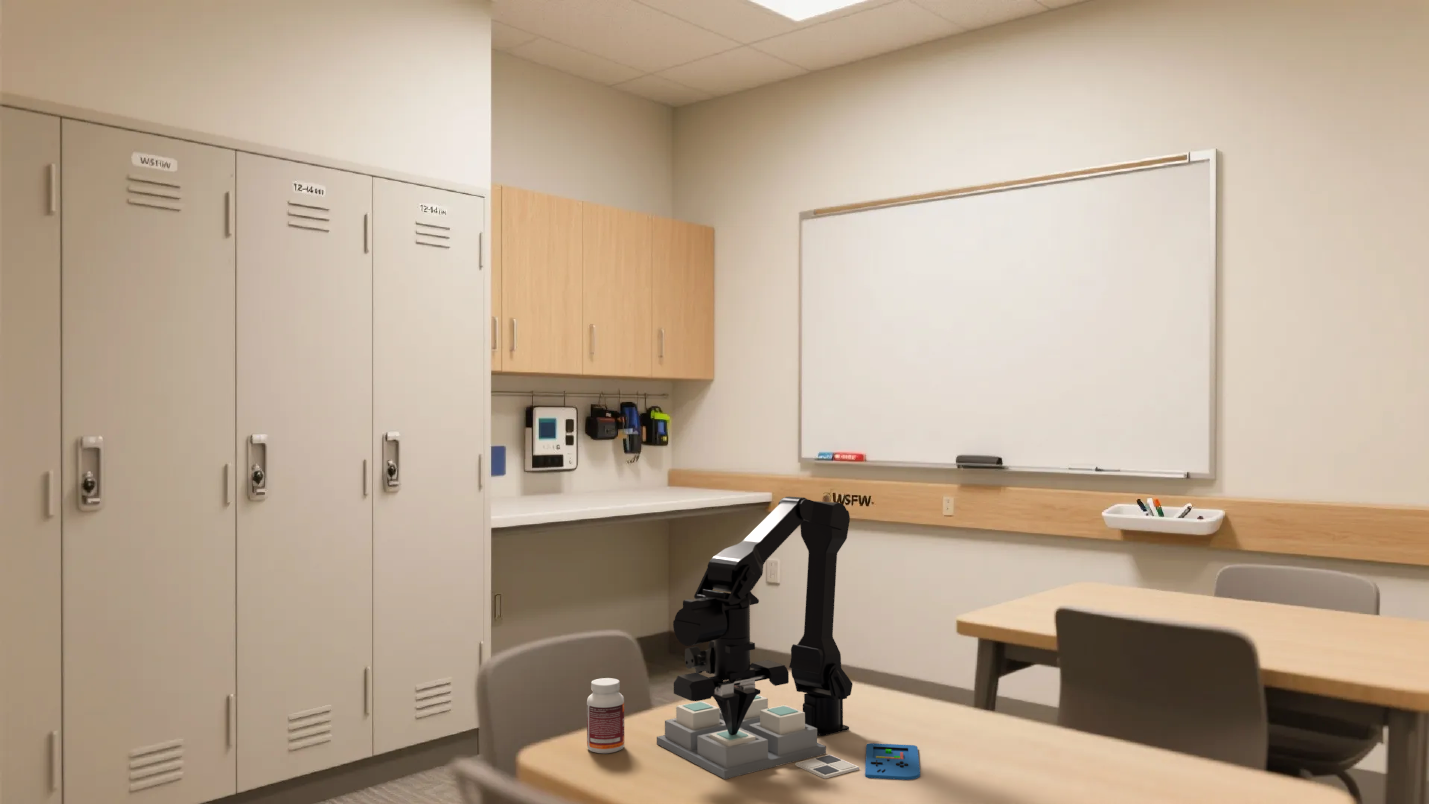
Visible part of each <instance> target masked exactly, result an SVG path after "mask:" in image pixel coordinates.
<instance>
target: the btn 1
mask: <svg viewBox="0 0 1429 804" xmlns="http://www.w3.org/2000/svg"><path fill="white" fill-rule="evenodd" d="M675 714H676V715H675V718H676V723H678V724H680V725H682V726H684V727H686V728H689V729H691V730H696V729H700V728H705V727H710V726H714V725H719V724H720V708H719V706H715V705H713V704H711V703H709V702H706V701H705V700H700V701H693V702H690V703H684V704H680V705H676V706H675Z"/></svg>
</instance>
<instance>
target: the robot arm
mask: <svg viewBox="0 0 1429 804" xmlns="http://www.w3.org/2000/svg"><path fill="white" fill-rule="evenodd" d="M850 520H851V516H850V512H849V510H848V509H847V507H846V505H844V504H843V503H841V502H834V501H833V502H832V501H820V500H819V501H817V500H811V499H810V498H806V497H802V496H785V497H782V498H781V499H780V500H779V501H778V505H777V506H776V507H775V508H774V509H773V510H772V511H771V512H770V513H769V514H768V515H767V516H766V517H765V518H764V519H763V520H762V521H761V522H760V523H759V524H758V525H757V526H756V527H755V528H754V529H753V530H752V531H751V532H750V533H749V534H748V535H747V536H746V537H745V538H744V539H743V540H742V541H741V542H739V543H736V544H733V545H731V546H729V547H726V548H724V549H722V550H721V551H720V552H718V553H717V554H715V555H714V556H713V557H712V558H711V559H710V560H709V562H708V563H707V568H706V571H705V572H704V575H703V576H702V579H701V580H700V582H699V585H698V587H697V589H696V592H695V593H694V595H693V597H694V598H693V599H691V598H688V599H684V600H683V601H682V608H680V609H679V610H678V611H677V612H676V614H675V616H674V619H673V622H672V625H673V632H674V634H675V637H676V639H677V640H678V641H679V643H680V644H682V645H684V646H686V647H687V648H685V649H684V662H685V663H684V664H685V667H686V668H687V669H688V670H689V669H694V670H695V672H690V673H686V674H685V673H684V674H680V675H677V677H676V678H675V679H674V682H673V694H674V695H676V696H679V697H681V698H683V699H686V700H688V701H690V702H699V701H705V700H710V699H712V698H713V699H714V700H715V702H716V704H717V707H718V708H720V710H721V713H722V716H723V719H724V722H725V724H726V727H727V730H728V733H729V734H730V735H736V734H737V732H738V730H739V728H740V726H741V724H742V721H743V719H744V717H745V715H746V713H747V711H748V709H749V707H750V705H751V704H752V702H753V700H754V698H755V697H756V695H761V689H759V688H756V682H758V681H759V682H760V681H763V680H764V681H765V680H768V681H769V682H770V684H772V685H773V686H775V687H776V686H782V685H786V684H789V673H790V672H791V673H790V674H791V677H792V679H793V682H794V685H795V689H796V692H798V693H804V694H803V698H804V699H803V700H804V701H803V703H802V711H803V712H805V724H807V725H810V726H812V727H815V728H817V736H820V737H823V736H829V735H833V734H838V733H842V732H845V731H849V730H850V726H848V725H846V724H844V700H845V699H847V698H848V697H849V696H851V695H852V688H853V681H852V680H851V679H850V677H849V676H848V675H847V674H846V673H845V671H844V670H843V668H842V657H841V655H842V654H841V651H840V650H839V647H838V645H837V643H836V641H835V638H834V633H833V631H834V618H835V617H834V615H835V597H836V581H837V579H836V577H837V564H838V563H837V561H838V552H839V551H841V548H842V547H843V545H844V543H845V542H846V541H847V538H848V533H849V526H850ZM799 526H800V536H801V539H802V541H803V543H804V545H805V547H806V549H807V551H808V553H807V554H808V555H807V556H808V557H807V574H806V575H807V576H806V577H807V578H806V595H805V609H804V610H805V611H804V627H803V635H802V637H801V638H800V640H799V641H798V643H797V644H796V643H795V644H792V645H791V648H790V661H789V662H790V663H789V666H788V667H789V669H790V670H791V671H790V672H789V670H788V668H787V666H786V665H784V664H782V663H778V662H776V661H772V660H771V659H764V660H760V661H754V662H751V651H752V650H753V651H754V650H756V643H755V642H753V641H751V624H750V623H751V606H753V605H757V604H760V603H759V602H760V600H759V598H758V597H757V596H755V595H754V594H753V593H752V590H753V589H754V588H755V586H756V585H757V584H758V581H760V579H761V577H762V576H763V574H764V564H765V563H766V562H767V560H769V559H770V557H771V556H772V555H773V554H774V553H775V552H776V551H777V550H778V549H779V547H780V546H781V545H783V543H785V541H786V540H787V539H788V538H789V537H790V536H791V535H792V534H793V533H794V532H795V531H796V530H797V529H798V528H799ZM704 643H708V646H707V647H708V648H707V649H706V650H701V649H700V647H699V646H696V645H700V644H704ZM703 672H705V673H707V674H708V675H713V676H705V675H703V674H702V673H703Z"/></svg>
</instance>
